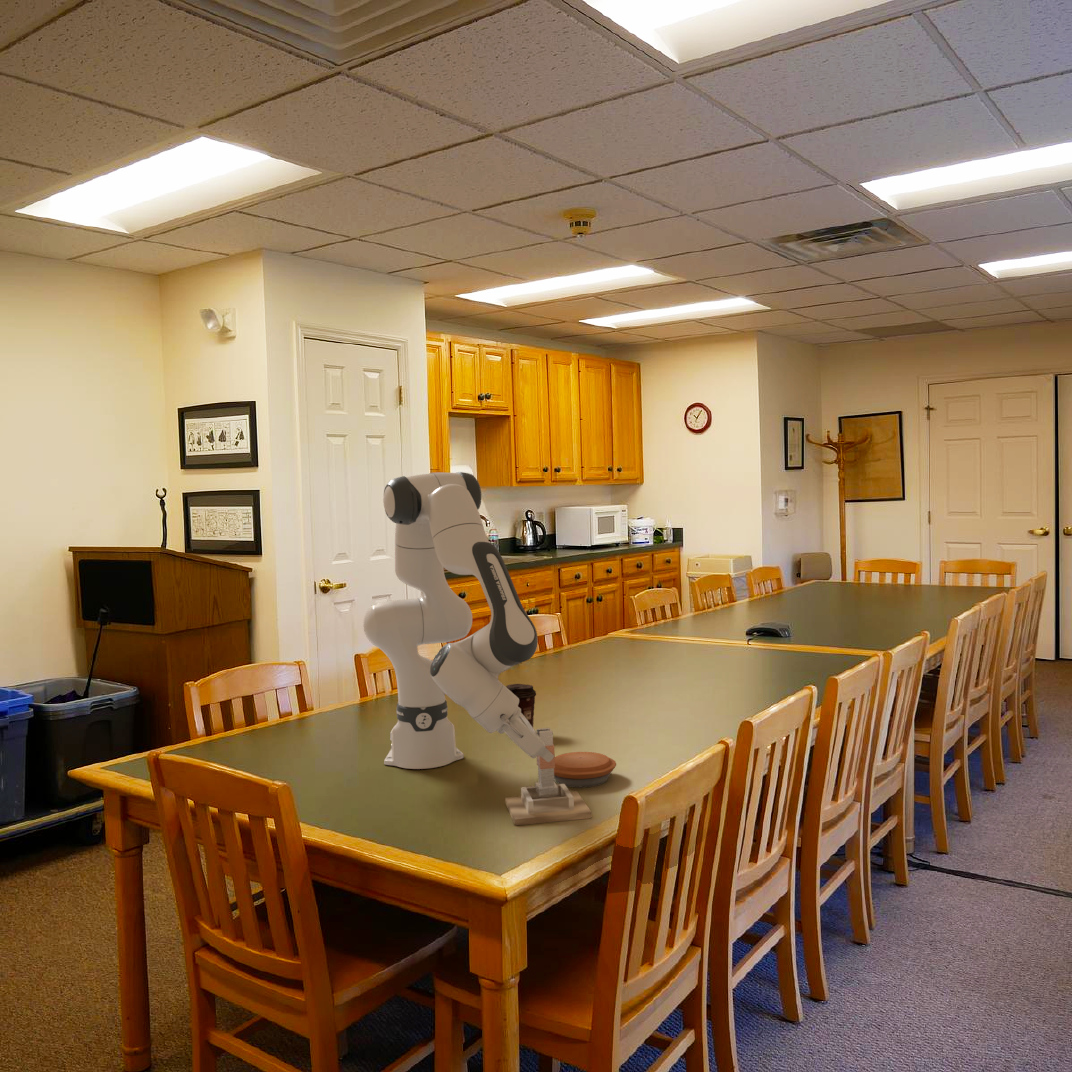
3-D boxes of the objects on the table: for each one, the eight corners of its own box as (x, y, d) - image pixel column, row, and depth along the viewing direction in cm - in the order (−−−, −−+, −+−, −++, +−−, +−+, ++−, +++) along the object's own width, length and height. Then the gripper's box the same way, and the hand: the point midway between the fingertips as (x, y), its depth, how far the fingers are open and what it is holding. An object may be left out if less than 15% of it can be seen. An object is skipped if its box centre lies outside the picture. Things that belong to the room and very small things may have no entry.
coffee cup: (508, 740, 243) (506, 690, 242) (500, 733, 251) (498, 684, 250) (541, 737, 245) (539, 687, 244) (532, 729, 253) (530, 681, 252)
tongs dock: (505, 803, 194) (504, 785, 194) (577, 797, 197) (576, 779, 197) (515, 825, 182) (514, 806, 181) (591, 818, 184) (590, 799, 184)
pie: (612, 768, 217) (611, 746, 217) (620, 789, 201) (620, 766, 201) (544, 771, 216) (543, 749, 216) (548, 792, 201) (547, 769, 201)
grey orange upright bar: (535, 789, 191) (533, 728, 190) (554, 788, 191) (551, 726, 191) (539, 796, 186) (537, 733, 186) (558, 794, 187) (556, 732, 186)
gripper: (517, 709, 177) (570, 757, 179) (501, 688, 197) (549, 731, 199) (494, 735, 176) (547, 782, 178) (481, 711, 196) (529, 754, 198)
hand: (548, 755), depth 189 cm, fingers closed on grey orange upright bar, 4 cm apart
